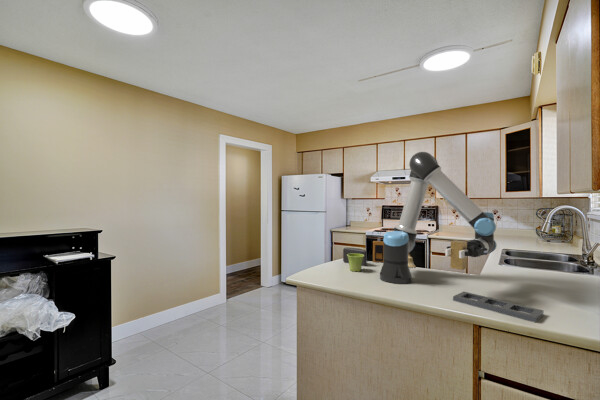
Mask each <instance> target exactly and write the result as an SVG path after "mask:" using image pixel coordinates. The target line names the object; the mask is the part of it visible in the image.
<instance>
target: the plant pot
mask: <svg viewBox="0 0 600 400" xmlns="http://www.w3.org/2000/svg"><path fill="white" fill-rule="evenodd" d="M347 256H348V259H349V263H348V265H349V271H350V272H353V273H354V272H357V273H358V272H361V271H362V267H363V266H362V260H363V257H364V255H362V254H355V253H352V254H347Z"/></svg>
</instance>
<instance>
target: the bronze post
mask: <svg viewBox="0 0 600 400" xmlns="http://www.w3.org/2000/svg"><path fill="white" fill-rule="evenodd" d="M467 241H468V240H466V241H465V240H457V239H456V240H450V246H451V255H450V269H454V270H455V269H456V270H461V271H463V270H467V268H468V256H467V257H464V258H459V251H462V250H466V249H467Z"/></svg>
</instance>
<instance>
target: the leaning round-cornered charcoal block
mask: <svg viewBox="0 0 600 400" xmlns="http://www.w3.org/2000/svg"><path fill="white" fill-rule="evenodd" d="M352 253H355V254H362V255H364V257H363V260H362V266H361V267H366V266H367V262H368V260H367V259H368V256H367V255H368V254H367V253H368V252H367V251H366V250H365V249H362V248H356V247H344V248H343V250H342V256H343V257H342V258H343V259H342V261H343V263H345V264H349V259H348V256H347V254H352Z"/></svg>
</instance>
